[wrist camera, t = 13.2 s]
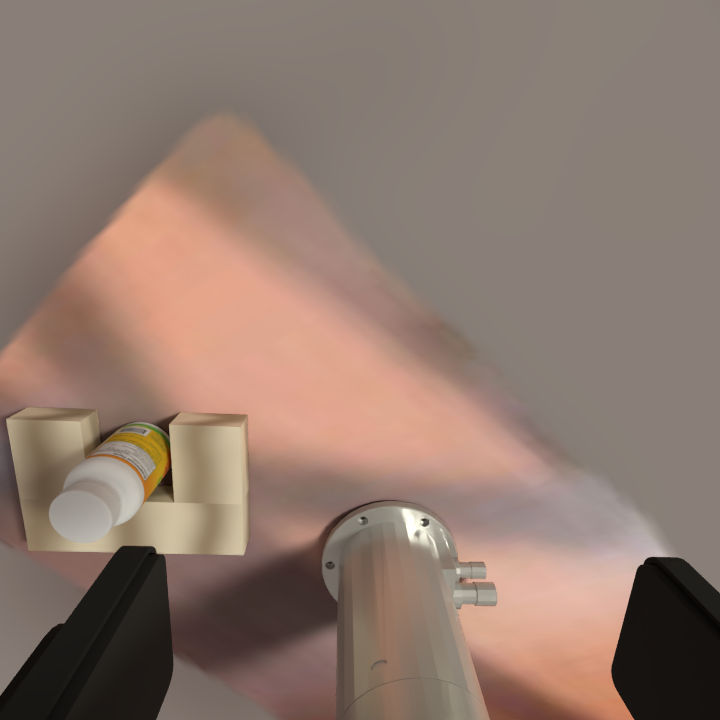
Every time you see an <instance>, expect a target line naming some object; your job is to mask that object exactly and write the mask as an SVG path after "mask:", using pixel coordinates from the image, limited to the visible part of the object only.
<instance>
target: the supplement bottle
mask: <svg viewBox="0 0 720 720" xmlns="http://www.w3.org/2000/svg"><path fill="white" fill-rule="evenodd" d="M171 466H172V461H171V446H170V437H169V436H168V434H167V433H166V432H165V431H163V430H162V429H161V428H159V427H157V426H155V425H153V424H150V423H146V422H133V423H130V424H127V425H125V426H123V427H121V428H120V429H118V430H117V431H116V432H115V433H114V434H112V435H111V436H110V437H109V438H108V439H107V440H105V441H104V442H103V443H102V444H101V445H100V446H98V447H97V448H96V449H95V450H94V451H93V452H92V453H90V454H89V455H88V456H87V457H86V458H85V459H83V460H82V461H81V462H80V463H79V464H78V465H77V466H75V467H74V468H73V469H72V470H71V472H70V473H69V474H68V476H67V478H66V480H65V482H64V486H63V491H62V492H61V493H60V494H59V495H58V496H57V497H56V498H55V499H54V500H53V502H52V503H51V505H50V509H49V519H50V522H51V524H52V526H53V528H54V529H55V530H56V531H57V532H58V533H59V534H60V535H61V536H62V537H64V538H66V539H68V540H70V541H73V542H77V543H91V542H95V541H97V540H99V539H101V538H103V537H104V536H105V535H106V534H107V533H108V532H109V531H110V530H111V528H112V527H113V526H117V525H120V524H123V523H125V522H126V521H128V520H129V519H131V518H132V517H133V516H134V515H135V514H136V513H137V512H138V510H139V509H140V508H141V507H142V505H143V504H144V503H145V501H146V500H147V499H148V497H149V496H150V495H151V493H152V492H153V491H154V489H155V488H156V487H157V485H158V484H159V483H160V481H161V480H162V479H163V477H164V476H165V475H166V473H167V472H168V471H169V469H170V468H171Z"/></svg>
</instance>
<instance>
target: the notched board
mask: <svg viewBox="0 0 720 720" xmlns="http://www.w3.org/2000/svg"><path fill="white" fill-rule="evenodd" d="M6 422H7V428H8V434H9V439H10V445H11V451H12V457H13V462H14V468H15V474H16V480H17V485H18V491H19V497H20V503H21V509H22V514H23V520H24V526H25V532H26V537H27V543H28V549H29V551H75V552H116V551H117V550H118V549H119V548H120V547H122V546H153V547H155V549H156V552H157V553H170V554H218V555H244V552H245V549H246V546H247V543H248V540H249V537H250V531H249V471H248V415H237V414H208V413H179V414H178V416H177V417H176V418H175V419H174V420H173V421H172V422H171V423H170V424H169V432H170V446H171V461H172V476H173V486H157V487H156V488H155V489H154V491H153V492H152V493H151V495H150V496H149V497H148V499H147V500H146V501H145V503H144V504H143V505H142V507H141V508H140V509H139V510H138V512H137V513H136V514H135V515H134V516H133V517H132V518H131V519H129V520H128V521H126V522H125V523H123V524H120V525H117V526H113V527H112V528H111V530H110V531H109V532H108V533H107V534H106V535H105V536H104V537H103V538H101V539H99V540H97V541H95V542H91V543H77V542H73V541H70V540H68V539H66V538H64V537H62V536H61V535H60V534H59V533H58V532H57V531H56V530H55V529H54V528H53V526H52V524H51V522H50V519H49V509H50V505H51V503H52V502H53V500H54V499H55V498H56V497H57V496H58V495H59V494H60V493H61V492H62V491H63V486H64V482H65V480H66V478H67V476H68V474H69V473H70V472H71V470H72V469H73V468H74V467H75V466H77V465H78V464H79V463H80V462H81V461H82V460H83V459H85V458H86V457H87V456H88V455H89V454H90V453H92V452H93V451H94V450H95V449H96V448H97V447H98V446H100V445H101V437H100V428H99V419H98V411H97V410H95V409H67V408H38V407H27V408H26V409H24V410H22V411H20V412H18V413H16V414H15V415H13V416H11V417H9V418H7V419H6Z"/></svg>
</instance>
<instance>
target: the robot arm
mask: <svg viewBox="0 0 720 720" xmlns="http://www.w3.org/2000/svg"><path fill="white" fill-rule="evenodd" d="M322 575H323V579H324V583H325V585H326V587H327V589H328V591H329V593H330V594H331V595H332V597H333V598H334V599H335V600H336V602H338V613H337V666H336V718H335V720H490V718H489V715H488V712H487V709H486V706H485V702H484V699H483V696H482V692H481V689H480V686H479V682H478V679H477V676H476V672H475V669H474V666H473V662H472V659H471V656H470V652H469V649H468V646H467V642H466V639H465V635H464V632H463V629H462V625H461V622H460V619H459V615H458V612H457V609H460V608H461V606H462V604H474V605H475V606H496V603H497V592H496V588H495V585H494V583H493V582H473V583H460V581H459V579H460V578H470V579H485V578H486V566H485V564H484V562H469V563H467V562H459V561H458V553H457V550H456V546H455V543H454V540H453V538H452V535H451V533H450V531H449V530H448V528H447V527H446V525H445V524H444V523H443V522H442V521H441V520H440V519H439V518H438V517H437V516H436V515H435V514H433V513H432V512H430V511H428V510H427V509H425V508H423V507H420V506H418V505H415V504H412V503H407V502H402V501H384V502H376V503H372V504H369V505H366V506H363V507H360V508H358V509H356V510H355V511H353V512H351V513H349V514H348V515H347V516H345V517H344V518H343V519H341V520H340V521H339V522H338V523H337V525H336V526H335V527H334V528H333V529H332V531H331V532H330V534H329V536H328V538H327V539H326V542H325V545H324V548H323V554H322ZM172 672H173V651H172V638H171V625H170V612H169V599H168V586H167V573H166V561H165V557H164V555H159V554H157V552H156V549H155V547H153V546H122V547H120V548H119V549H118V550H117V551H116V553H115V554H114V555H113V557H112V558H111V560H110V561H109V562H108V564H107V565H106V567H105V568H104V569H103V571H102V572H101V574H100V575H99V576H98V578H97V579H96V580H95V582H94V583H93V585H92V586H91V587H90V589H89V590H88V592H87V593H86V594H85V596H84V597H83V598H82V600H81V601H80V603H79V604H78V606H77V607H76V608H75V610H74V611H73V612H72V614H71V615H70V617H69V618H68V619H67V621H66V622H65V623H64V624H58V625H57V626H55V627H53V628H52V629H51V630H50V631H49V632H48V633H47V635H46V636H45V637H44V638H43V639H42V641H41V642H40V644H39V645H38V646H37V647H36V649H35V650H34V652H33V653H32V654H31V655H30V657H29V658H28V660H27V661H26V662H25V663H24V665H23V666H22V667H21V669H20V670H19V672H18V673H17V674H16V676H15V677H14V678H13V680H12V681H11V682H10V684H9V685H8V686H7V688H6V689H5V690H4V692H3V693H2V694H1V696H0V720H156V718H157V716H158V713H159V711H160V708H161V706H162V703H163V701H164V697H165V695H166V693H167V690H168V688H169V685H170V681H171V677H172ZM611 672H612V679H613V682H614V685H615V687H616V689H617V691H618V693H619V695H620V696H621V698H622V700H623V701H624V703H625V705H626V707H627V708H628V710H629V712H630V713H631V715H632V717H633V718H634V720H720V593H719V592H718V591H717V590H716V589H715V588H714V587H712V585H710V584H709V583H708V582H707V581H706V580H705V579H704V578H703V577H702V576H701V575H700V574H699V573H698V572H697V571H696V570H695V569H694V568H693V567H691V565H690V564H689V563H687V562H686V561H685V560H683V559H681V558H674V557H649V558H647V559H646V560H645V562H644V564H643V565H640V566H639V567H638V569H637V572H636V575H635V579H634V583H633V587H632V591H631V594H630V598H629V602H628V606H627V610H626V614H625V617H624V621H623V625H622V629H621V633H620V637H619V640H618V644H617V648H616V652H615V656H614V659H613V663H612V669H611Z"/></svg>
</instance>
